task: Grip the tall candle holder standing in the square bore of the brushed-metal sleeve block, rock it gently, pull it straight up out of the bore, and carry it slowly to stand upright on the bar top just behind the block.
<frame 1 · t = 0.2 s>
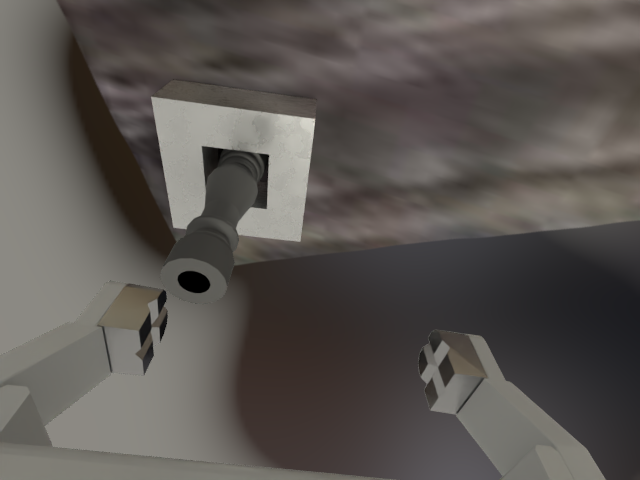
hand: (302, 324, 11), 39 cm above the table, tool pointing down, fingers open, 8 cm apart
candle holder: (246, 154, 50), resting in sleeve block
sleeve block: (246, 155, 49), on the table
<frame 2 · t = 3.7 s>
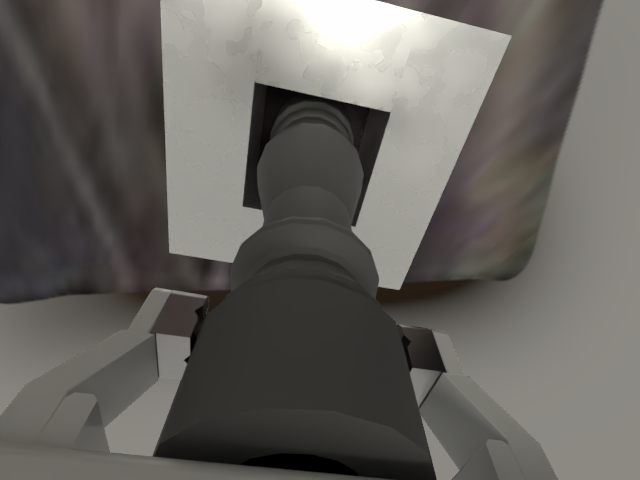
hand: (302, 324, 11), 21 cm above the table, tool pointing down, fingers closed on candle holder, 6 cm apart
candle holder: (312, 130, 28), resting in sleeve block, touching gripper
sleeve block: (312, 131, 28), on the table
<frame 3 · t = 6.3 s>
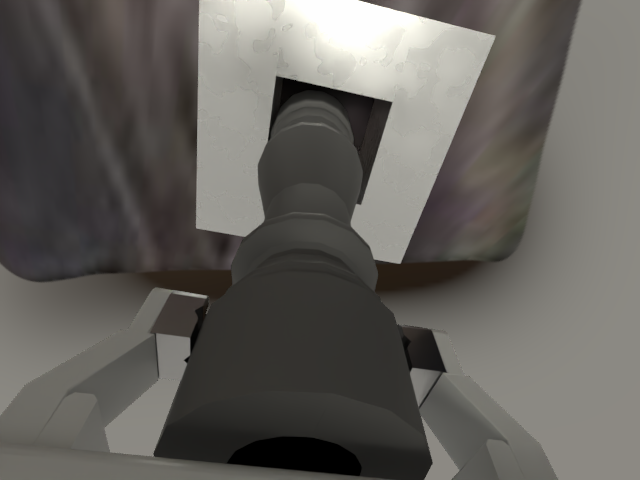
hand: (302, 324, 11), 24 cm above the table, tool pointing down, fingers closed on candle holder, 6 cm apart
candle holder: (312, 129, 28), point 3 cm above the table, touching gripper
sleeve block: (322, 121, 31), on the table
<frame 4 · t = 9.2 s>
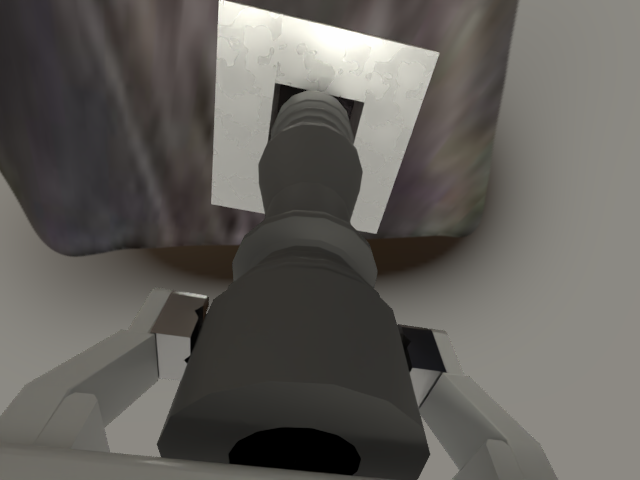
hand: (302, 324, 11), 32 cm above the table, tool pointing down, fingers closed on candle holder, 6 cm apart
candle holder: (312, 130, 28), point 11 cm above the table, touching gripper
sleeve block: (313, 118, 38), on the table
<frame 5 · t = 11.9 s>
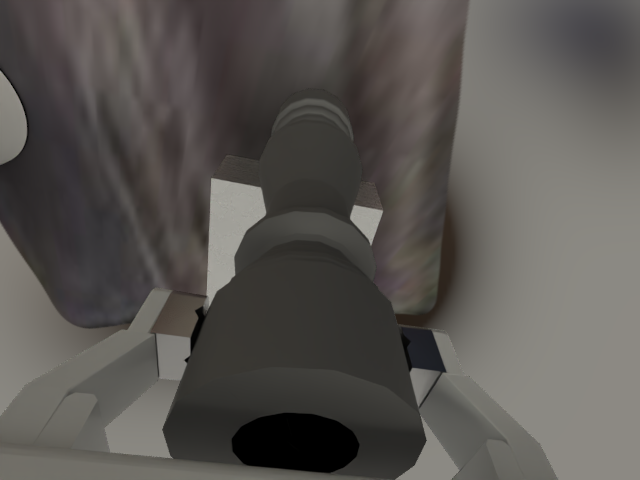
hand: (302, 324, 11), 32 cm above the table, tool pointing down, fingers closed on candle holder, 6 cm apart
candle holder: (313, 128, 29), point 10 cm above the table, touching gripper
sleeve block: (290, 231, 46), on the table
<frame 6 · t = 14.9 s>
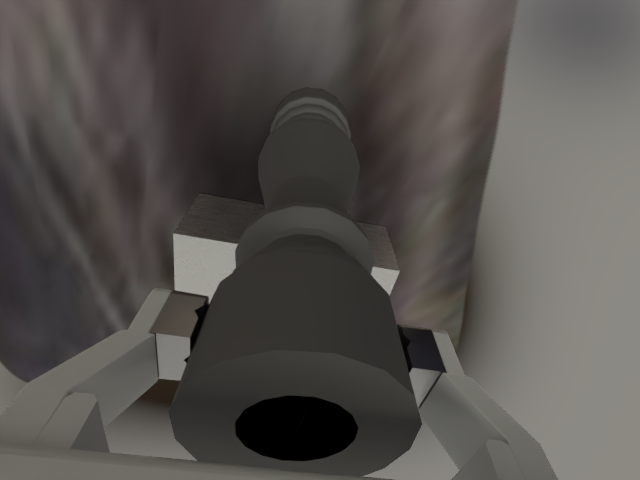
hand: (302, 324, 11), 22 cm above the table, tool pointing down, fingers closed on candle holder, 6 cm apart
candle holder: (310, 126, 29), on the table, touching gripper
sleeve block: (282, 281, 38), on the table
when the fingers open (22 cm above the table, at t = 15.4 s): candle holder stays where it is, on the table.
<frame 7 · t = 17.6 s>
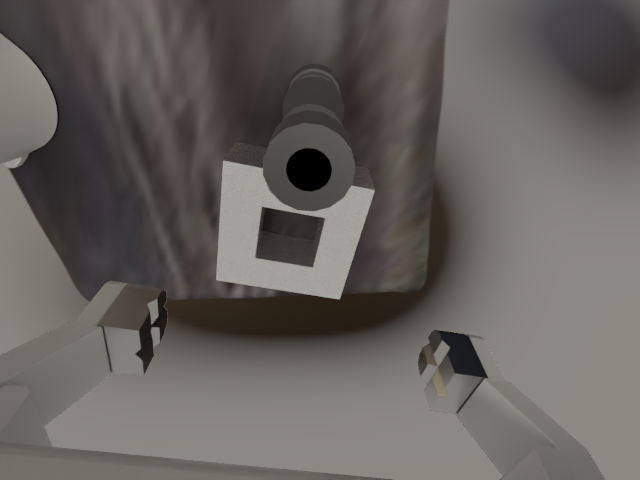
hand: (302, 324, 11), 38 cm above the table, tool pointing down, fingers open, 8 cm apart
candle holder: (314, 92, 42), on the table
sleeve block: (292, 213, 51), on the table
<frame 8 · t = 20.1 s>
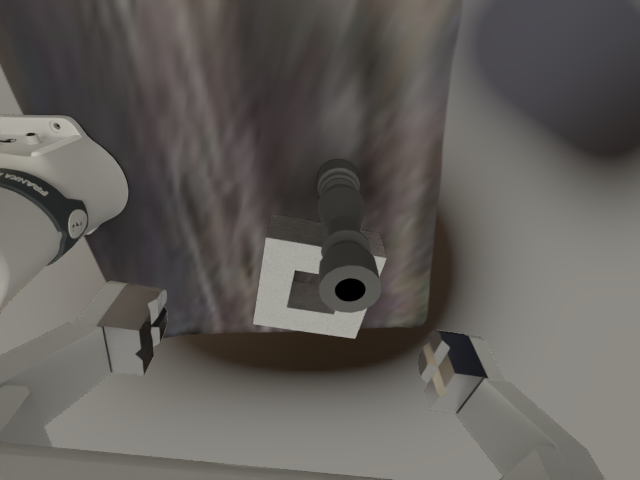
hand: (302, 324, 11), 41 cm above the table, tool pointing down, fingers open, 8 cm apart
candle holder: (337, 178, 52), on the table
sleeve block: (315, 266, 61), on the table
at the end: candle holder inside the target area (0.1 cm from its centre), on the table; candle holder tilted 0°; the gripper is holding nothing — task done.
